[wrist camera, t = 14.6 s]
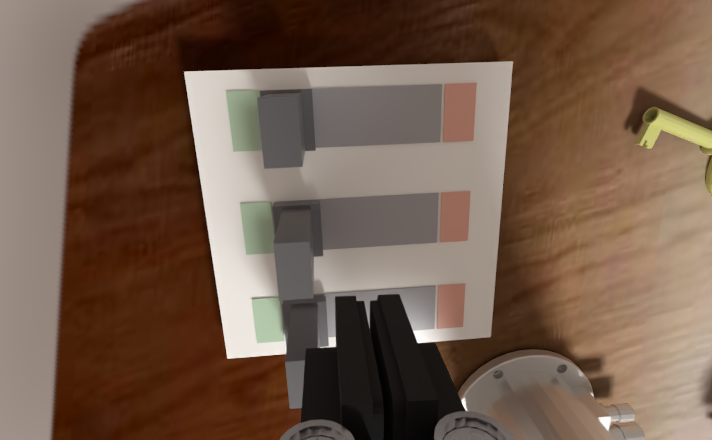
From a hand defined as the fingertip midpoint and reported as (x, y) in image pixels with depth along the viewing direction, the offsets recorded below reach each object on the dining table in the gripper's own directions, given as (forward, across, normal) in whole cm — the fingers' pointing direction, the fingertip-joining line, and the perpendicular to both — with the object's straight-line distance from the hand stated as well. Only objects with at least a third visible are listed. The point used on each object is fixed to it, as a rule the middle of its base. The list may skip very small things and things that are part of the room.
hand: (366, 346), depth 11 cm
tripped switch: (+17, +3, -5) cm, 18 cm away
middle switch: (+17, +3, +2) cm, 18 cm away
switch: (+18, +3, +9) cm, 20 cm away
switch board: (+20, -1, +2) cm, 20 cm away
